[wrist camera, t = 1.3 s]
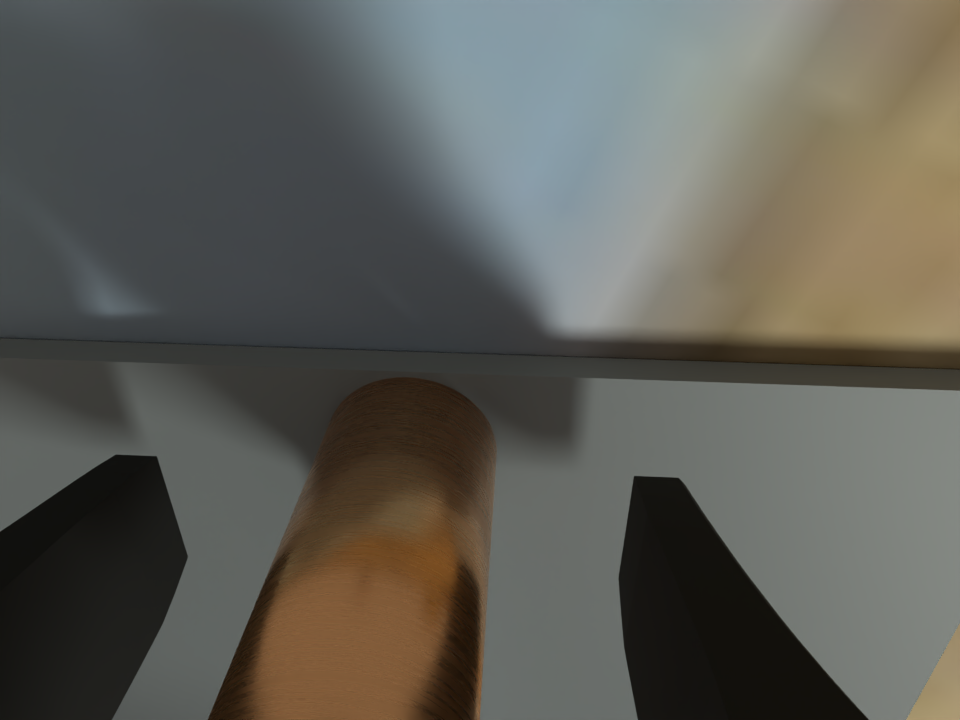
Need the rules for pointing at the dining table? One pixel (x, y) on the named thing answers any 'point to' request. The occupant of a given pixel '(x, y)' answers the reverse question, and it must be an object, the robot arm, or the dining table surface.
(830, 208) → the dining table surface
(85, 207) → the dining table surface
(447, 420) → the lever
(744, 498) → the board
